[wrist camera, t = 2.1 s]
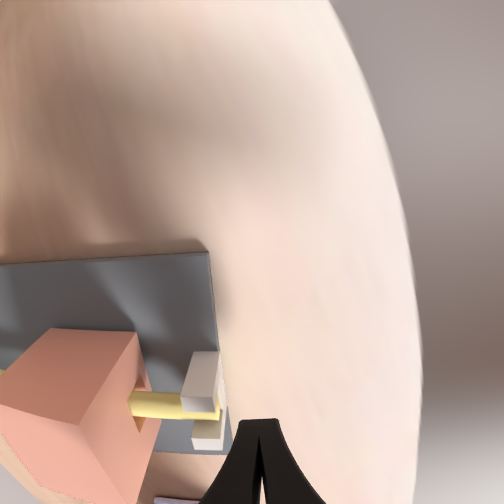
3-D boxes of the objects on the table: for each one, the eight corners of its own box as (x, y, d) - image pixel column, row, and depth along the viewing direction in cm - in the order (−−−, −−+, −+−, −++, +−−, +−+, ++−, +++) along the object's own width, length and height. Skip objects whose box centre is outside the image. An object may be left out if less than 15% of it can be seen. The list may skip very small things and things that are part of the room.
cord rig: (235, 447, 16) (232, 506, 12) (-36, 395, 16) (-60, 421, 12) (211, 251, 13) (191, 291, 9) (-83, 269, 13) (-118, 287, 9)
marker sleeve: (161, 421, 14) (133, 513, 9) (83, 411, 15) (40, 485, 9) (136, 331, 13) (77, 425, 7) (50, 327, 13) (-21, 396, 7)
